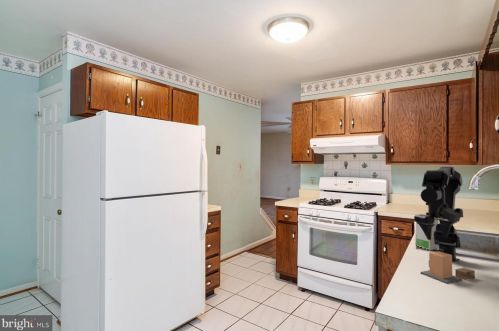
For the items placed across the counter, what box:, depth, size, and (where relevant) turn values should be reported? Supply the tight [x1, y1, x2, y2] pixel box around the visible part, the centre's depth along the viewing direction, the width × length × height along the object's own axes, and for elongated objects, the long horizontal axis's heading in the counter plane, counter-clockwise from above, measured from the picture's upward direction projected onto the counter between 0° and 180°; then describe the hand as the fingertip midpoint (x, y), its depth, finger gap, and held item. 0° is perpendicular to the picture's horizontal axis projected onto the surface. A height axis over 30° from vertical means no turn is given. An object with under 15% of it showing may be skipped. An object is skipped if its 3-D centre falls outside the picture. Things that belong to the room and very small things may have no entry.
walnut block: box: [454, 267, 476, 281], centre depth 100 cm, size 5×4×3 cm
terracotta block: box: [428, 250, 453, 279], centre depth 101 cm, size 5×5×8 cm
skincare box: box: [414, 220, 440, 251], centre depth 138 cm, size 8×7×16 cm
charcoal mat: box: [420, 269, 463, 284], centre depth 101 cm, size 8×10×1 cm
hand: (437, 238), depth 110 cm, fingers open, 9 cm apart
